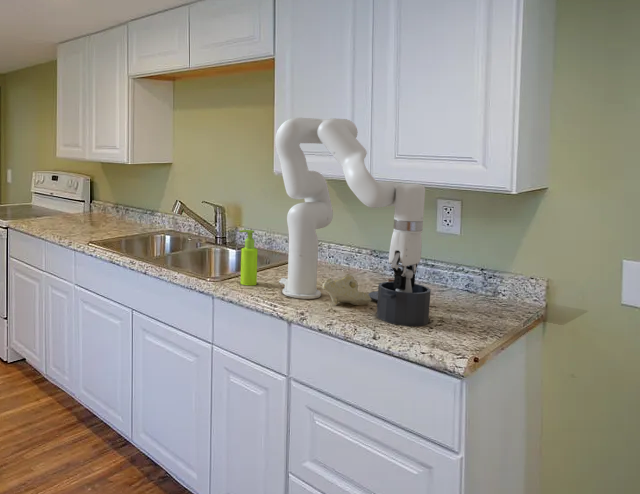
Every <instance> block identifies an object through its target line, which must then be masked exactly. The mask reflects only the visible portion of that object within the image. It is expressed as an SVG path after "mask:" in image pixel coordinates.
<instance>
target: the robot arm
mask: <svg viewBox="0 0 640 494" xmlns="http://www.w3.org/2000/svg"><path fill="white" fill-rule="evenodd" d="M357 137H358V128H357V126H356V124H355V123H354V122H353V121H352V120H350V119H347V118H333V117H332V118H314V117H313V118H311V117H292V118H289V119H286V120H285V121H284V122H282V123H281V125H280V126H279V127H278V128H277V131H276V133H275V137H274V145H275V150H276V153H277V156H278V160H279V165H280V170H281V175H282V179H283V185H284V189H285V192H286V195H287V196H288V197H289V198H290V199H294V200H303V199H304V200H303V201H304V202H299V203H296V204H294V205H292V206H291V208H289V210H288V212H287V215H286V223H287V229H288V257H287V258H288V259H287V262H288V263H287V277H281V278H280V280H279V281H278V283H279V284H280V285H284V288H282V294H283V295H284V296H287V297H289V298H294V299H302V300H303V299H304V300H307V299H308V300H313V299H318V298H320V297H321V296H322V292H321V291H320V290H319V289H317V285H318V284H317V283H318V281H317V280H318V264H319V263H318V262H319V260H318V259H319V239H318V235H317V232H316V230H320V229H324V228H326V227H328V226H329V225H330V224H331V223H332V221H333V217H334V211H333V205H332V200H331V196H330V191H329V187H328V183H327V180H326V179H325V177H324V176H323V174H322V173H320V172H319V171H316V170H309V168H308V167H309V166H308V163H307V158H306V154H305V153H304V151H303V149H302V148H301V146H300V145H301V144H317V145H318V144H319V145H323V146H324V147H325V148H326V149H327V150H328V152H329V153H330V154H331V155H332V156H333V158H334V159H335V160H336V161H337V163H338V164H339V165H340V166H341V168H342V172H343V176H344V179H345V183H346V184H347V186H348V188H349V189H350V191H352V193H353V194H354V195H355V196H356V198H357V199H358V200H359V202H361V203H362V204H363V205H364V206H366V207H368V208H372V209H377V208H378V209H379V208H386V207H394V213H393V214H394V216H393V231H392V235H391V239H390V244H389V245H390V246H389V252H388V263H389V264H390V268H391V270H392V271H393V278H394V288H396V289H400V290H405V289H406V276H405V272H406V269H409V270H412V271H413V277H412V278H410V279H411V286H412V287H414V286H415V284H416V274H417V268H418V265H419V263H421V259H422V246H423V245H422V233H423V229H424V217H425V216H424V215H425V199H426V187H425V186H424V185H423V184H420V183H408V182H407V183H402V182H396V181H390V180H389V181H388V180H386V181H385V180H384V181H377V180H376V179H375V178H374V176H373V175H372V174H371V172H370V171H369V170H368V168H367V167H366V164H365V158H366V157H367V154H368V153H367V149H366V147H364V146H363V144H362V143H361V142H360V141H359V140H358V139H357ZM401 269H402V270H401Z"/></svg>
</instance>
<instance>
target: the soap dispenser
mask: <svg viewBox="0 0 640 494" xmlns="http://www.w3.org/2000/svg"><path fill="white" fill-rule="evenodd" d="M238 232H239V233H247V238H245V239H244V247H242V248H240V280H239V281H240V282H239V283H240V285H243V286H247V287H249V286H256V285H257V283H258V257H259V256H258V253H259V249H258V248H256V247H255V241H256V240H255V238H254V237H253V234H254V233H255V230H254V229H241V230H238Z"/></svg>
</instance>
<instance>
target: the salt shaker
mask: <svg viewBox="0 0 640 494" xmlns="http://www.w3.org/2000/svg"><path fill="white" fill-rule="evenodd" d="M401 270H402V268H401ZM405 276H406V289H405V290H400V289H396V291H398V292H406V293H412V286H411V279H410V278H412V277H413V271H412V270H409V269H406V272H405Z"/></svg>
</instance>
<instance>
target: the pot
mask: <svg viewBox="0 0 640 494" xmlns="http://www.w3.org/2000/svg"><path fill="white" fill-rule="evenodd" d="M377 291H378V302H377V301H376V304H377V305H376V317H377V318H378V319H379V320H381V321H384V322H387V323H389V324H393V325H398V326H406V327H421V326H422V327H423V326H425V325H428V324H429V319H430V307H431V295H432V294H431V293H432V289H431V288H429V287H428V286H426V285H424V284H419V283H415V286H414V287H412V293H406V292H398V291H396V288H394V282H388V281H383V282H379V283H378V288H377Z"/></svg>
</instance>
